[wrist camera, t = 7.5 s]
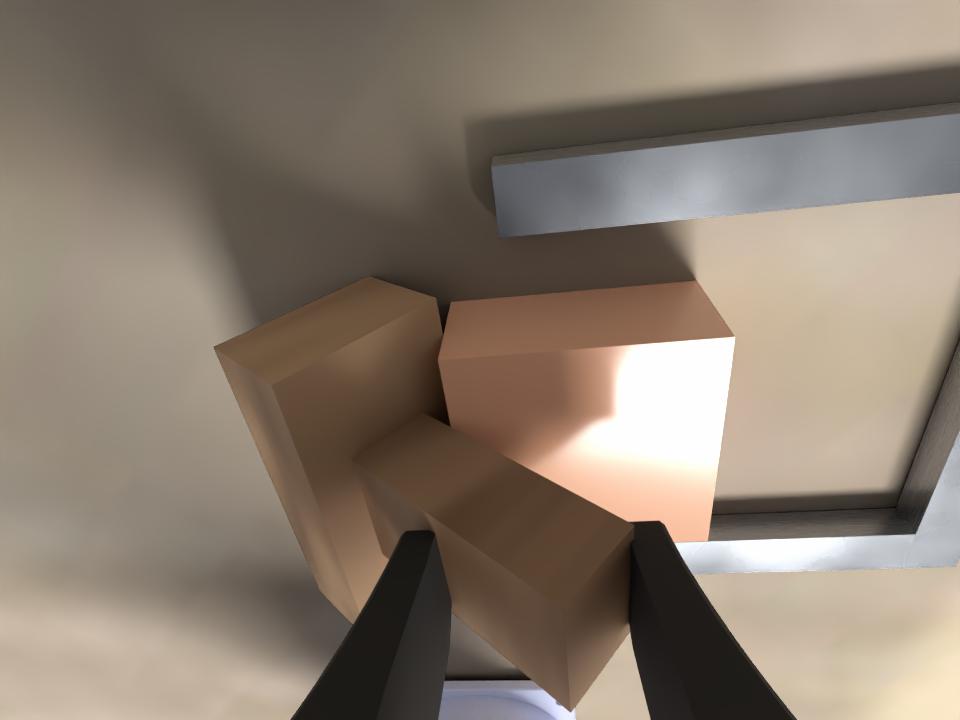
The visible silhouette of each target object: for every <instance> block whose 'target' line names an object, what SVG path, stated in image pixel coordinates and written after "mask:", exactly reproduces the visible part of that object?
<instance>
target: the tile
mask: <svg viewBox="0 0 960 720" xmlns="http://www.w3.org/2000/svg"><path fill="white" fill-rule="evenodd" d="M734 342H735V336H734V335H733V333H732V332H731V330H730V329H729V327H728V326H727V324H726V323H725V321H724V320H723V318H722V317H721V315H720V314H719V313H718V311H717V310H716V308H715V307H714V305H713V304H712V302H711V301H710V299H709V298H708V296H707V295H706V293H705V292H704V290H703V289H702V288H701V286H700V285H699V283H698V282H697V280H696V281H685V282H673V283H662V284H651V285H639V286H628V287H617V288H605V289H594V290H583V291H571V292H560V293H549V294H537V295H526V296H514V297H503V298H492V299H480V300H469V301H458V302H451V304H450V309H449V313H448V317H447V322H446V326H445V331H444V335H443V340H442V344H441V349H440V353H439V358H438V363H439V368H440V373H441V379H442V384H443V389H444V394H445V399H446V405H447V410H448V415H449V420H450V425H451V428H453V429H455V430H457V431H459V432H461V433H463V434H464V435H466V436H468V437H470V438H472V439H474V440H476V441H478V442H479V443H481V444H483V445H485V446H487V447H489V448H491V449H493V450H494V451H496V452H498V453H500V454H502V455H504V456H506V457H508V458H509V459H511V460H513V461H515V462H517V463H519V464H521V465H523V466H524V467H526V468H528V469H530V470H532V471H534V472H536V473H538V474H539V475H541V476H543V477H545V478H547V479H549V480H551V481H553V482H554V483H556V484H558V485H560V486H562V487H564V488H566V489H568V490H569V491H571V492H573V493H575V494H577V495H579V496H581V497H583V498H584V499H586V500H588V501H590V502H592V503H594V504H596V505H598V506H599V507H601V508H603V509H605V510H607V511H609V512H611V513H613V514H614V515H616V516H618V517H620V518H622V519H624V520H626V521H628V522H634V521H661V522H662V523H663V524H665V526H666V528H667V530H668V532H669V534H670V536H671V538H672V540H673V542H700V541H708V536H709V529H710V521H711V514H712V506H713V499H714V491H715V484H716V476H717V469H718V461H719V454H720V446H721V439H722V432H723V424H724V417H725V409H726V402H727V394H728V387H729V379H730V372H731V364H732V357H733V349H734Z"/></svg>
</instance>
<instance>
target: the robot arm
mask: <svg viewBox="0 0 960 720" xmlns="http://www.w3.org/2000/svg"><path fill="white" fill-rule="evenodd" d="M629 523H631V524H633V525H634V539H633V540H632V541H631V574H630V610H629V626H630V632H631V639H632V645H633V650H634V654H635V658H636V662H637V666H638V670H639V674H640V678H641V682H642V686H643V690H644V694H645V698H646V702H647V706H648V710H649V714H650V718H651V720H797V719H796V718H795V717H794V715H793V714H792V713H791V712H790V710H789V709H788V708H787V707H786V705H785V704H784V703H783V702H782V700H781V699H780V698H779V697H778V695H777V694H776V693H775V691H774V690H773V689H772V688H771V686H770V685H769V684H768V682H767V681H766V680H765V678H764V677H763V676H762V674H761V673H760V672H759V670H758V669H757V668H756V667H755V665H754V664H753V663H752V661H751V660H750V659H749V657H748V656H747V654H746V653H745V652H744V650H743V649H742V648H741V646H740V645H739V643H738V642H737V641H736V639H735V638H734V636H733V635H732V633H731V632H730V631H729V629H728V628H727V626H726V625H725V623H724V622H723V620H722V619H721V617H720V616H719V614H718V613H717V612H716V610H715V609H714V607H713V606H712V604H711V603H710V601H709V600H708V598H707V597H706V595H705V594H704V592H703V590H702V589H701V587H700V586H699V584H698V582H697V581H696V579H695V578H694V576H693V574H692V573H691V571H690V570H689V568H688V566H687V565H686V563H685V561H684V559H683V558H682V556H681V554H680V552H679V551H678V549H677V547H676V545H675V543H674V542H673V540H672V538H671V536H670V534H669V532H668V530H667V528H666V526H665V524H663V523H662V522H661V521H634V522H629ZM451 609H452V600H451V596H450V592H449V588H448V584H447V580H446V576H445V572H444V567H443V563H442V559H441V555H440V551H439V547H438V543H437V539H436V535H435V533H434V532H432V531H430V530H413V531H405V532H404V533H403V534H402V535H401V537H400V539H399V541H398V543H397V545H396V547H395V549H394V551H393V553H392V555H391V557H390V559H389V561H388V563H387V565H386V567H385V569H384V571H383V573H382V575H381V576H380V578H379V580H378V582H377V584H376V586H375V587H374V589H373V591H372V593H371V595H370V597H369V598H368V600H367V602H366V603H365V605H364V607H363V609H362V610H361V612H360V614H359V615H358V617H357V619H356V621H355V622H354V624H353V626H352V627H351V629H350V631H349V632H348V634H347V636H346V637H345V639H344V641H343V642H342V644H341V646H340V647H339V649H338V650H337V652H336V653H335V655H334V656H333V658H332V659H331V661H330V662H329V664H328V666H327V667H326V669H325V670H324V672H323V673H322V675H321V676H320V678H319V679H318V681H317V682H316V684H315V685H314V687H313V688H312V690H311V691H310V693H309V694H308V696H307V697H306V699H305V700H304V701H303V703H302V704H301V706H300V707H299V709H298V710H297V711H296V713H295V714H294V716H293V717H292V718H291V720H576V718H575V708H574V709H573V711H572V712H571V713H570V712H569V711H568V710H567V709H566V708H564V707H563V706H562V705H561V704H560V703H559V702H557V701H556V700H555V699H554V698H553V697H551V696H550V695H549V694H548V693H547V692H545V691H544V690H543V689H542V688H541V687H540V686H538V685H537V684H536V683H535V682H534V681H532V680H497V681H444V680H445V674H446V667H447V661H448V654H449V644H450V628H451Z"/></svg>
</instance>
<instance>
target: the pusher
mask: <svg viewBox="0 0 960 720" xmlns="http://www.w3.org/2000/svg"><path fill="white" fill-rule="evenodd" d="M442 340H443V333H442V327H441V322H440V316H439V311H438V305H437V300H436V298H435V297H432V296H429V295H425V294H422V293H419V292H416V291H413V290H410V289H407V288H404V287H401V286H398V285H395V284H391V283H388V282H385V281H382V280H379V279H376V278H373V277H370V276H368V277H366V278H364V279H361V280H359V281H357V282H355V283H353V284H350V285H348V286H346V287H344V288H342V289H340V290H337V291H335V292H333V293H331V294H329V295H326V296H324V297H322V298H320V299H318V300H315V301H313V302H311V303H309V304H307V305H304V306H302V307H300V308H298V309H296V310H294V311H291V312H289V313H287V314H285V315H283V316H280V317H278V318H276V319H274V320H272V321H269V322H267V323H265V324H263V325H261V326H258V327H256V328H254V329H252V330H250V331H247V332H245V333H243V334H241V335H239V336H237V337H234V338H232V339H230V340H228V341H226V342H223V343H221V344H219V345H217V346H215V347H214V350H215V352H216V354H217V356H218V359H219V361H220V363H221V366H222V368H223V370H224V372H225V375H226V377H227V379H228V382H229V384H230V386H231V389H232V391H233V393H234V395H235V398H236V400H237V402H238V405H239V407H240V409H241V411H242V414H243V416H244V418H245V421H246V423H247V425H248V427H249V430H250V432H251V434H252V437H253V439H254V441H255V443H256V446H257V448H258V450H259V453H260V455H261V457H262V459H263V462H264V464H265V466H266V469H267V471H268V473H269V475H270V478H271V480H272V482H273V485H274V487H275V489H276V491H277V494H278V496H279V498H280V501H281V503H282V505H283V508H284V510H285V512H286V514H287V517H288V519H289V521H290V524H291V526H292V528H293V530H294V533H295V535H296V537H297V540H298V542H299V544H300V546H301V549H302V551H303V553H304V556H305V558H306V560H307V562H308V565H309V567H310V569H311V572H312V574H313V576H314V578H315V581H316V583H317V585H318V588H319V590H320V591H321V592H322V593H323V594H324V595H325V597H326V598H327V599H328V600H329V601H330V602H331V603H332V604H333V605H334V606H335V607H336V608H337V609H338V610H339V611H340V612H341V613H342V614H343V615H344V616H345V617H346V618H347V619H348V620H349V621H350V622H351V623H352V624H354V622H355V621H356V619H357V617H358V615H359V614H360V612H361V610H362V609H363V607H364V605H365V603H366V602H367V600H368V598H369V597H370V595H371V593H372V591H373V589H374V587H375V586H376V584H377V582H378V580H379V578H380V576H381V575H382V573H383V571H384V569H385V567H386V565H387V563H388V561H389V559H390V557H391V555H392V553H393V551H394V549H395V547H396V545H397V543H398V541H399V539H400V537H401V535H402V534H403V533H404V532H405V531H413V530H430V531H432V532H434V533H435V535H436V539H437V543H438V547H439V551H440V555H441V559H442V563H443V567H444V572H445V576H446V580H447V584H448V588H449V592H450V596H451V600H452V609H451V612H452V613H453V614H454V615H455V616H457V617H458V618H459V619H460V620H461V621H462V622H464V623H465V624H466V625H467V626H468V627H470V628H471V629H472V630H473V631H474V632H476V633H477V634H478V635H479V636H480V637H481V638H483V639H484V640H485V641H486V642H487V643H489V644H490V645H491V646H492V647H493V648H494V649H496V650H497V651H498V652H499V653H500V654H502V655H503V656H504V657H505V658H506V659H508V660H509V661H510V662H511V663H512V664H513V665H515V666H516V667H517V668H518V669H519V670H521V671H522V672H523V673H524V674H525V675H527V676H528V677H529V678H530V679H531V680H532V681H534V682H535V683H536V684H537V685H538V686H540V687H541V688H542V689H543V690H544V691H545V692H547V693H548V694H549V695H550V696H551V697H553V698H554V699H555V700H556V701H557V702H559V703H560V704H561V705H562V706H563V707H564V708H566V709H567V710H568V711H569V712H570V713H571V712H572V711H573V709H574V708H575V707H576V705H577V704H578V703H579V701H580V700H581V698H582V697H583V696H584V694H585V693H586V692H587V690H588V689H589V687H590V686H591V685H592V683H593V682H594V681H595V679H596V678H597V676H598V675H599V674H600V672H601V671H602V670H603V668H604V667H605V665H606V664H607V663H608V661H609V660H610V659H611V657H612V656H613V654H614V653H615V652H616V650H617V649H618V648H619V646H620V645H621V643H622V642H623V641H624V639H625V638H626V637H627V635H628V634H629V632H630V626H629V610H630V574H631V541H632V540H633V539H634V525H633V524H631V523H629V522H628V521H626V520H624V519H622V518H620V517H618V516H616V515H614V514H613V513H611V512H609V511H607V510H605V509H603V508H601V507H599V506H598V505H596V504H594V503H592V502H590V501H588V500H586V499H584V498H583V497H581V496H579V495H577V494H575V493H573V492H571V491H569V490H568V489H566V488H564V487H562V486H560V485H558V484H556V483H554V482H553V481H551V480H549V479H547V478H545V477H543V476H541V475H539V474H538V473H536V472H534V471H532V470H530V469H528V468H526V467H524V466H523V465H521V464H519V463H517V462H515V461H513V460H511V459H509V458H508V457H506V456H504V455H502V454H500V453H498V452H496V451H494V450H493V449H491V448H489V447H487V446H485V445H483V444H481V443H479V442H478V441H476V440H474V439H472V438H470V437H468V436H466V435H464V434H463V433H461V432H459V431H457V430H455V429H453V428H451V425H450V420H449V415H448V410H447V405H446V399H445V394H444V389H443V384H442V379H441V373H440V368H439V363H438V358H439V353H440V349H441V344H442Z"/></svg>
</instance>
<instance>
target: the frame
mask: <svg viewBox="0 0 960 720" xmlns="http://www.w3.org/2000/svg"><path fill="white" fill-rule="evenodd" d="M491 171H492V181H493V190H494V199H495V208H496V217H497V227H498V236H499V238H505V237H515V236H525V235H535V234H545V233H555V232H566V231H576V230H586V229H596V228H606V227H616V226H626V225H636V224H647V223H657V222H667V221H677V220H687V219H697V218H707V217H718V216H728V215H738V214H748V213H758V212H768V211H778V210H789V209H799V208H809V207H819V206H829V205H839V204H849V203H859V202H870V201H880V200H890V199H900V198H910V197H920V196H930V195H941V194H951V193H960V102H954V103H946V104H937V105H928V106H920V107H911V108H902V109H894V110H885V111H876V112H868V113H859V114H851V115H842V116H833V117H825V118H816V119H807V120H799V121H790V122H781V123H773V124H764V125H755V126H747V127H738V128H730V129H721V130H712V131H704V132H695V133H686V134H678V135H669V136H660V137H652V138H643V139H635V140H626V141H617V142H609V143H600V144H591V145H583V146H574V147H565V148H557V149H548V150H539V151H531V152H522V153H514V154H505V155H496V156H493V158H492V164H491ZM674 543H675V545H676V547H677V549H678V551H679V552H680V554H681V556H682V558H683V559H684V561H685V563H686V565H687V566H688V568H689V570H690V571H691V573H692V574H718V573H754V572H789V571H824V570H860V569H895V568H930V567H956V565H957V563H958V561H959V559H960V341H959V344H958V346H957V349H956V352H955V354H954V357H953V359H952V362H951V365H950V367H949V370H948V373H947V375H946V378H945V380H944V383H943V386H942V388H941V391H940V393H939V396H938V399H937V401H936V404H935V407H934V409H933V412H932V414H931V417H930V420H929V422H928V425H927V427H926V430H925V433H924V435H923V438H922V441H921V443H920V446H919V448H918V451H917V454H916V456H915V459H914V462H913V464H912V467H911V469H910V472H909V475H908V477H907V480H906V482H905V485H904V488H903V490H902V493H901V496H900V498H899V501H898V503H897V506H896V508H886V509H861V510H836V511H811V512H786V513H761V514H736V515H711V521H710V529H709V536H708V541H700V542H674Z"/></svg>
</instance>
